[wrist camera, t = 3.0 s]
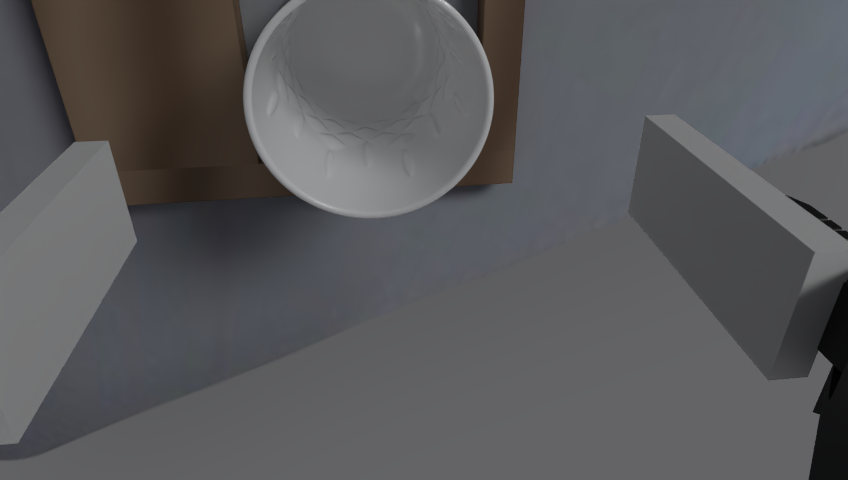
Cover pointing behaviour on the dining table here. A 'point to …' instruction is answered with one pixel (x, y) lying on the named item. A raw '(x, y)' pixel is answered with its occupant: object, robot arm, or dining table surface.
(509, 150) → the board
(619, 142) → the dining table surface
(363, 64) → the white cup
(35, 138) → the dining table surface
